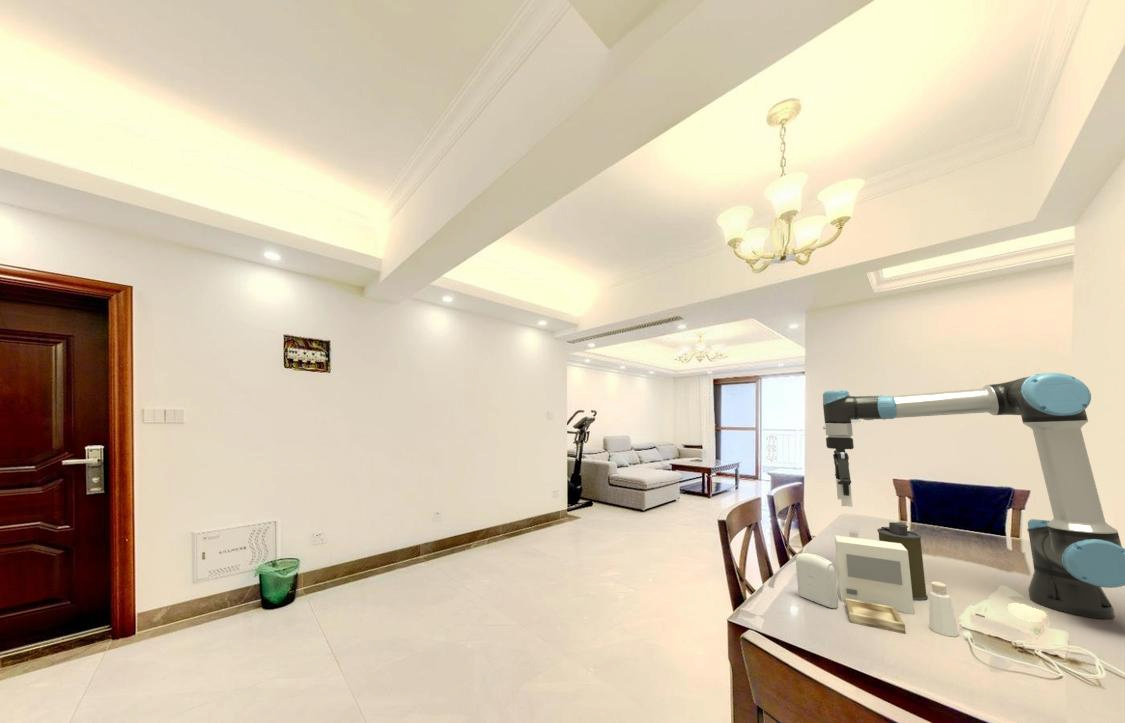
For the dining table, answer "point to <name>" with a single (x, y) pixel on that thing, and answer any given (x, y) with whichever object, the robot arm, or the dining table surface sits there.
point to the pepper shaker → (941, 611)
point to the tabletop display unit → (874, 572)
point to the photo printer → (817, 579)
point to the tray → (874, 615)
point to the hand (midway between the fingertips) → (844, 502)
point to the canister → (913, 545)
